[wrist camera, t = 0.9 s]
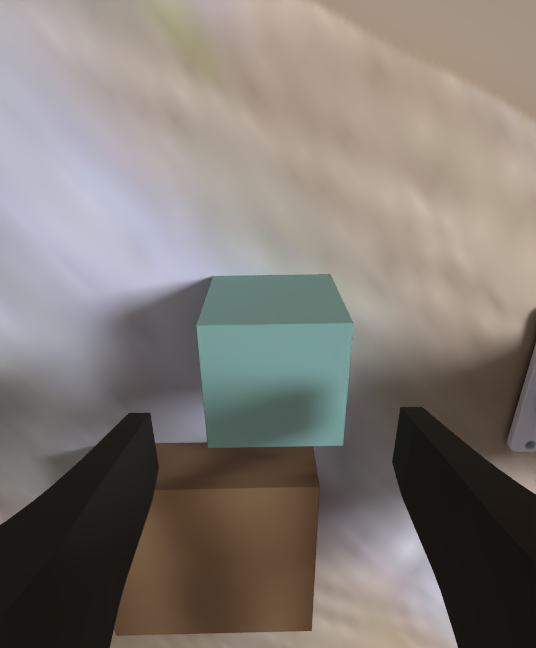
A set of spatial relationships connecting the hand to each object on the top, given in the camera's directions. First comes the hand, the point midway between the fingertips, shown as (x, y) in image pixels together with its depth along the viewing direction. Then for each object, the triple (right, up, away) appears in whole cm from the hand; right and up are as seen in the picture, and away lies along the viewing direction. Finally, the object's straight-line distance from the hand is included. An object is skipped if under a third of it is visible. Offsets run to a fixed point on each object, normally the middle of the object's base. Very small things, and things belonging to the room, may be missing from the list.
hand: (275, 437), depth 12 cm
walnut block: (-3, -8, +12) cm, 15 cm away
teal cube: (0, +3, +7) cm, 8 cm away
